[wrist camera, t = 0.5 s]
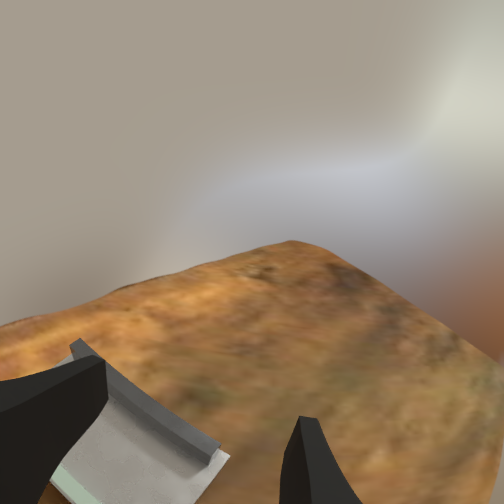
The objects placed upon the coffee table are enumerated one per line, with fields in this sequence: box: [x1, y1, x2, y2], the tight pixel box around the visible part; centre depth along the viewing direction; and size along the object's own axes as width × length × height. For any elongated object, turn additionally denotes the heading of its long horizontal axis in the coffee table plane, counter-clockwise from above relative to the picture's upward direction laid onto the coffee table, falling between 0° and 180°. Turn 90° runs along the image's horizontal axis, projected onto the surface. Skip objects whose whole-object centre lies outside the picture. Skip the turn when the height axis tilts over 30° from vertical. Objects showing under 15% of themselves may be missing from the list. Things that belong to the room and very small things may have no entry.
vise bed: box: [49, 338, 230, 504], centre depth 20 cm, size 13×19×4 cm
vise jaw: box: [51, 464, 101, 504], centre depth 15 cm, size 2×17×2 cm, turn 62°
